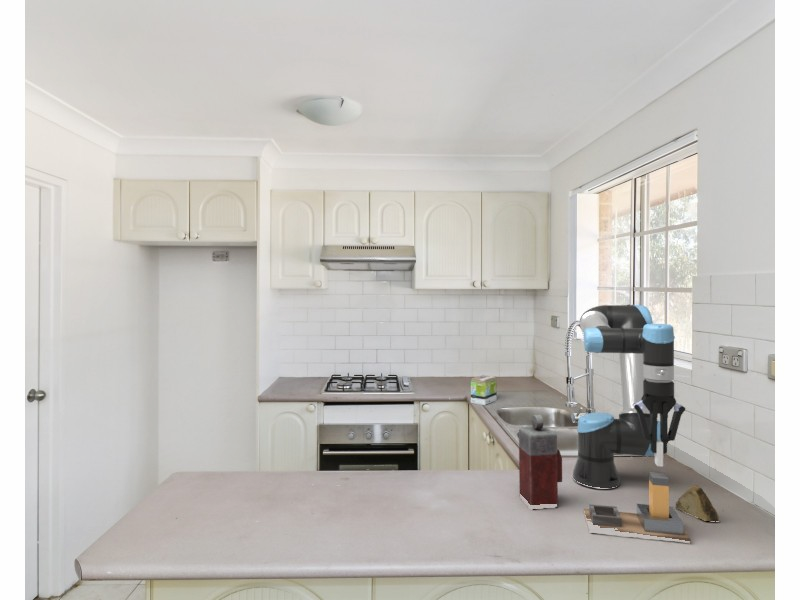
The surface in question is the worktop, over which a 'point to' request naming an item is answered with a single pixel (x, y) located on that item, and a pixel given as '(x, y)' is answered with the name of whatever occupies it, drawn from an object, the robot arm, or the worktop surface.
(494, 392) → the tea box
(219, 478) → the worktop surface
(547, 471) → the red rectangular canister
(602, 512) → the board
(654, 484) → the plug
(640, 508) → the port
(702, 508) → the rock
